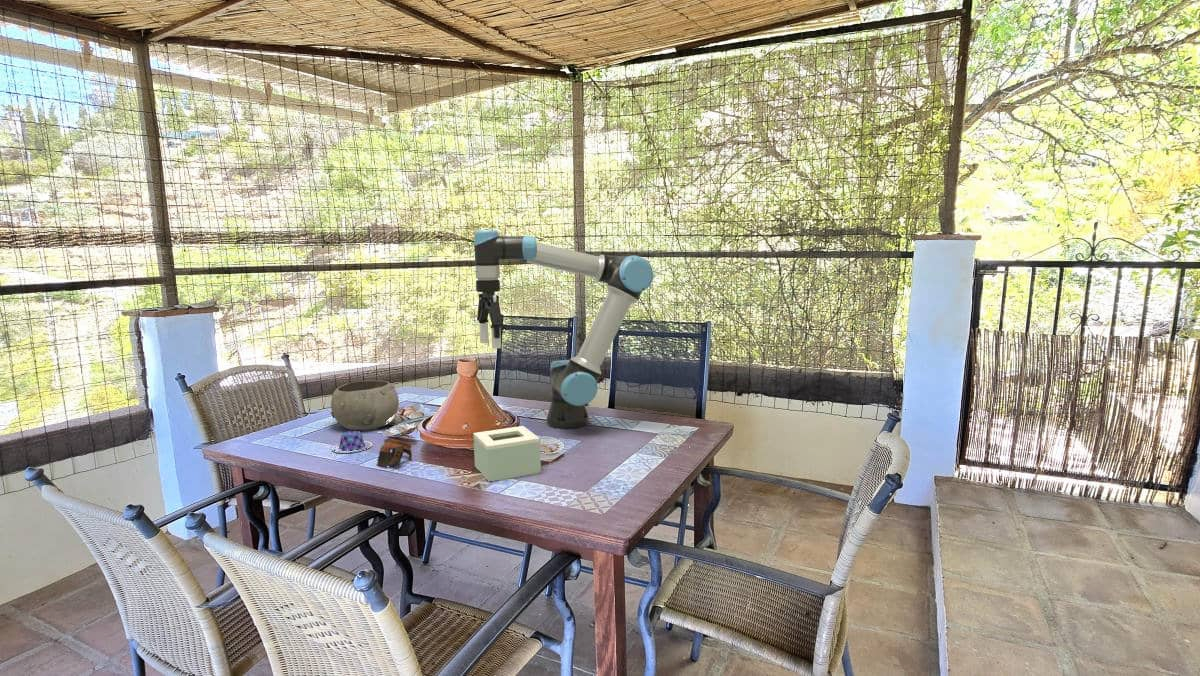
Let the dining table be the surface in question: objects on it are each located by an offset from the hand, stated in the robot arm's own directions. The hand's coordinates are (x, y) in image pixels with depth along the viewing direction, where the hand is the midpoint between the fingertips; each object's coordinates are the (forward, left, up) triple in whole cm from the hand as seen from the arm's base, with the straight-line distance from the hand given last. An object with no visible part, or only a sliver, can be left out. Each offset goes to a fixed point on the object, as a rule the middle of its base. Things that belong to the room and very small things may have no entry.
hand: (490, 345), depth 196 cm
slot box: (+5, +28, -32) cm, 43 cm away
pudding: (+42, -15, -32) cm, 55 cm away
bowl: (+35, -41, -32) cm, 63 cm away
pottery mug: (+32, +7, -32) cm, 46 cm away
